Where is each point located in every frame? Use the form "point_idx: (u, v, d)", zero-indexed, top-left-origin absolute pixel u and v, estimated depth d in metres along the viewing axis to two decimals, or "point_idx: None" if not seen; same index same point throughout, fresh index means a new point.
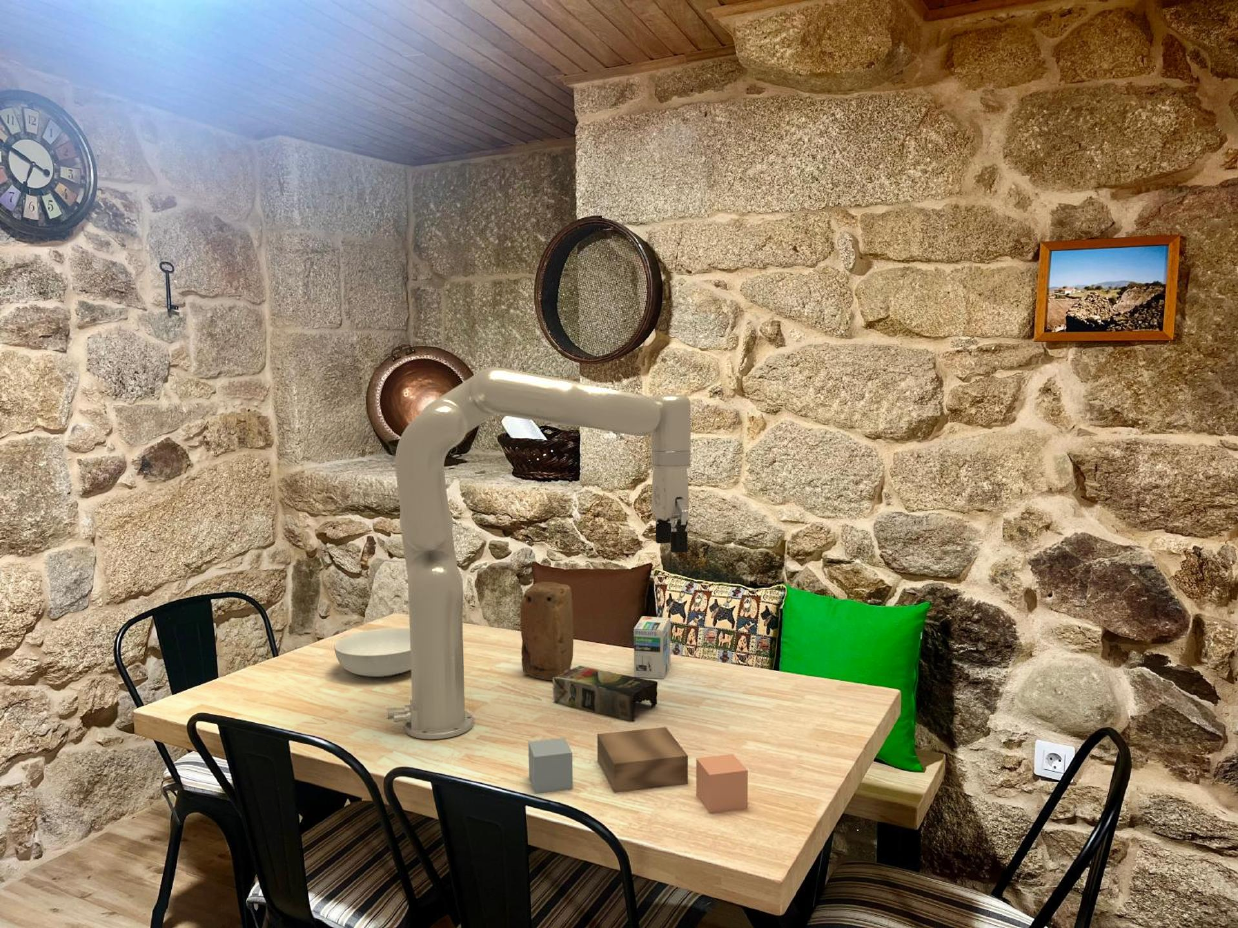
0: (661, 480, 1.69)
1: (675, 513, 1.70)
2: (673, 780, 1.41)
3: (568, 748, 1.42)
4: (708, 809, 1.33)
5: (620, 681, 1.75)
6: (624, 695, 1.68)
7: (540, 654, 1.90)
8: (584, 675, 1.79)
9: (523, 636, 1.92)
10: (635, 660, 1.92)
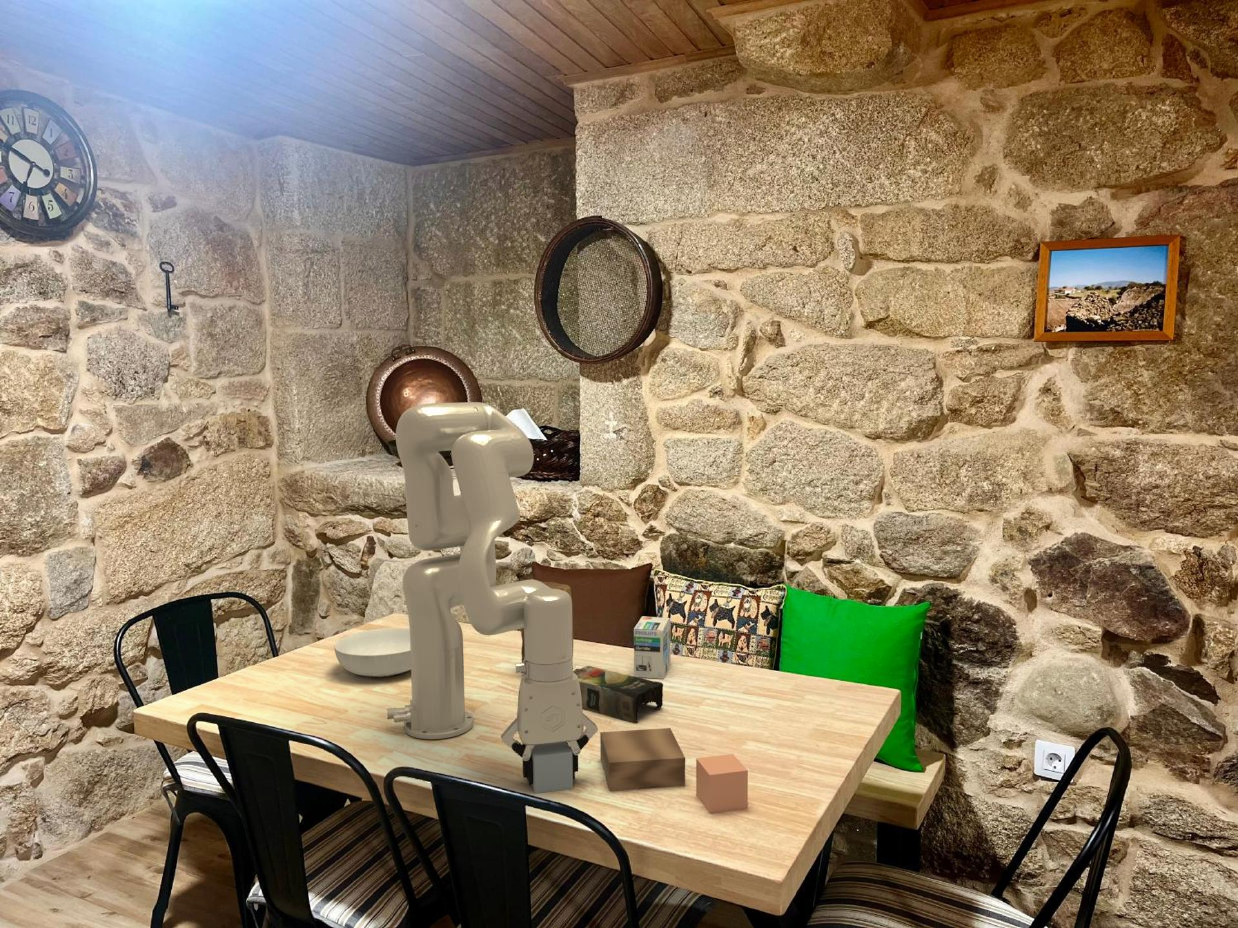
0: (568, 695, 1.39)
1: None
2: (670, 781, 1.41)
3: (568, 748, 1.42)
4: (708, 809, 1.33)
5: (626, 681, 1.74)
6: (627, 696, 1.67)
7: None
8: (591, 675, 1.79)
9: (523, 636, 1.92)
10: (635, 660, 1.92)
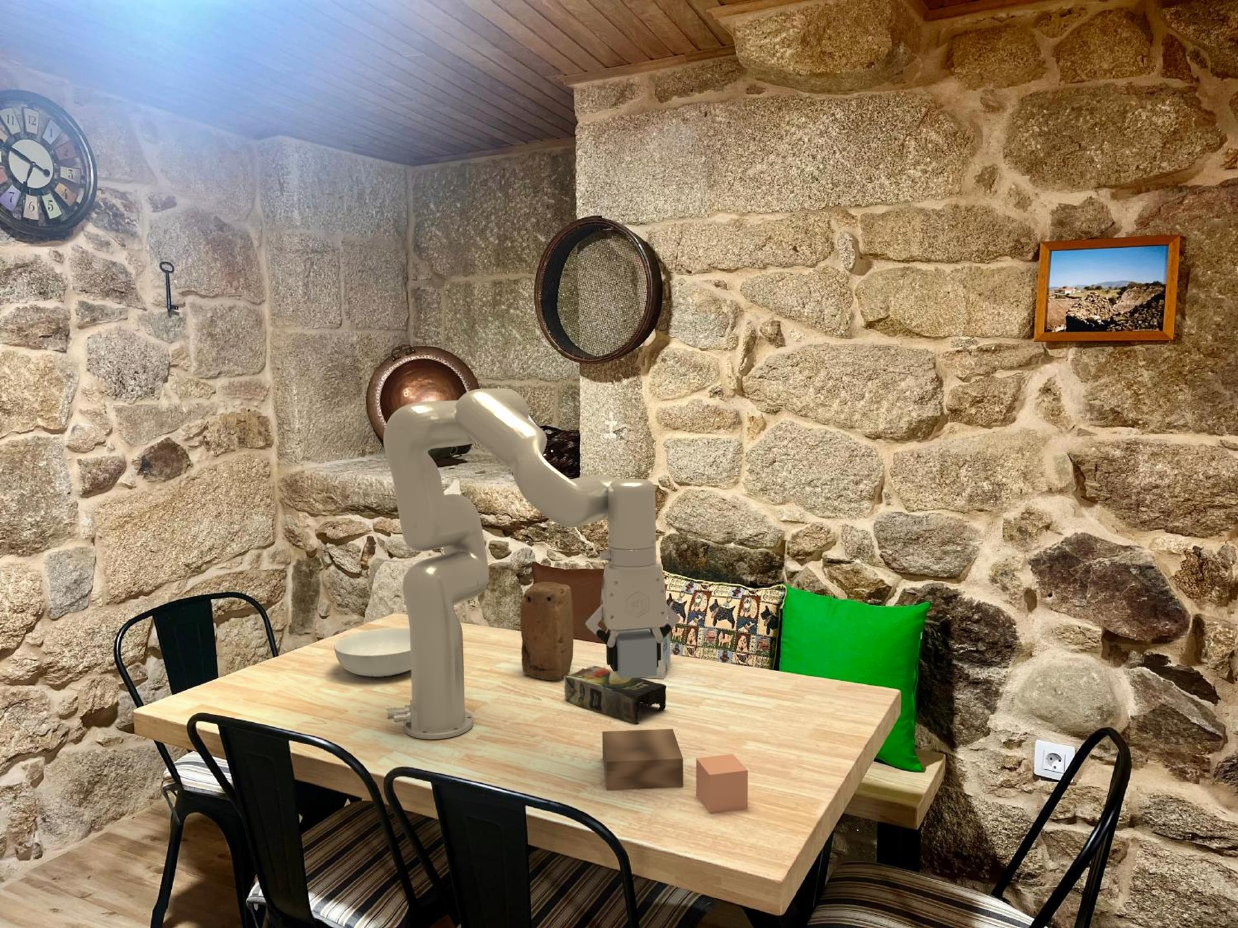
0: (652, 581, 1.41)
1: None
2: (668, 782, 1.41)
3: (652, 635, 1.43)
4: (708, 809, 1.33)
5: (629, 682, 1.74)
6: (628, 697, 1.67)
7: (540, 654, 1.90)
8: (596, 675, 1.79)
9: (523, 636, 1.92)
10: None
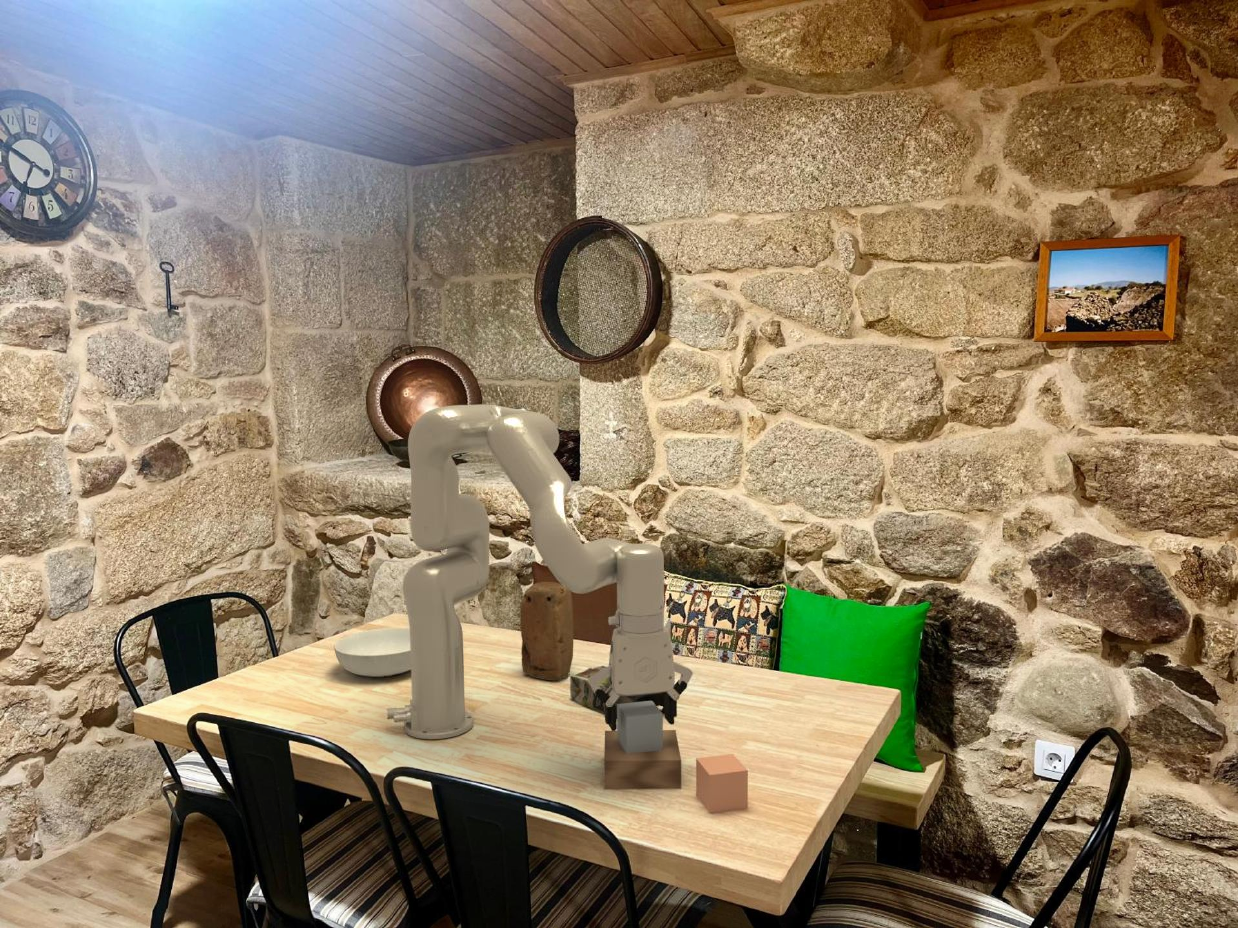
0: (660, 647, 1.42)
1: None
2: (666, 783, 1.40)
3: (658, 710, 1.45)
4: (708, 809, 1.33)
5: None
6: (628, 698, 1.66)
7: (540, 654, 1.90)
8: None
9: (523, 636, 1.92)
10: None
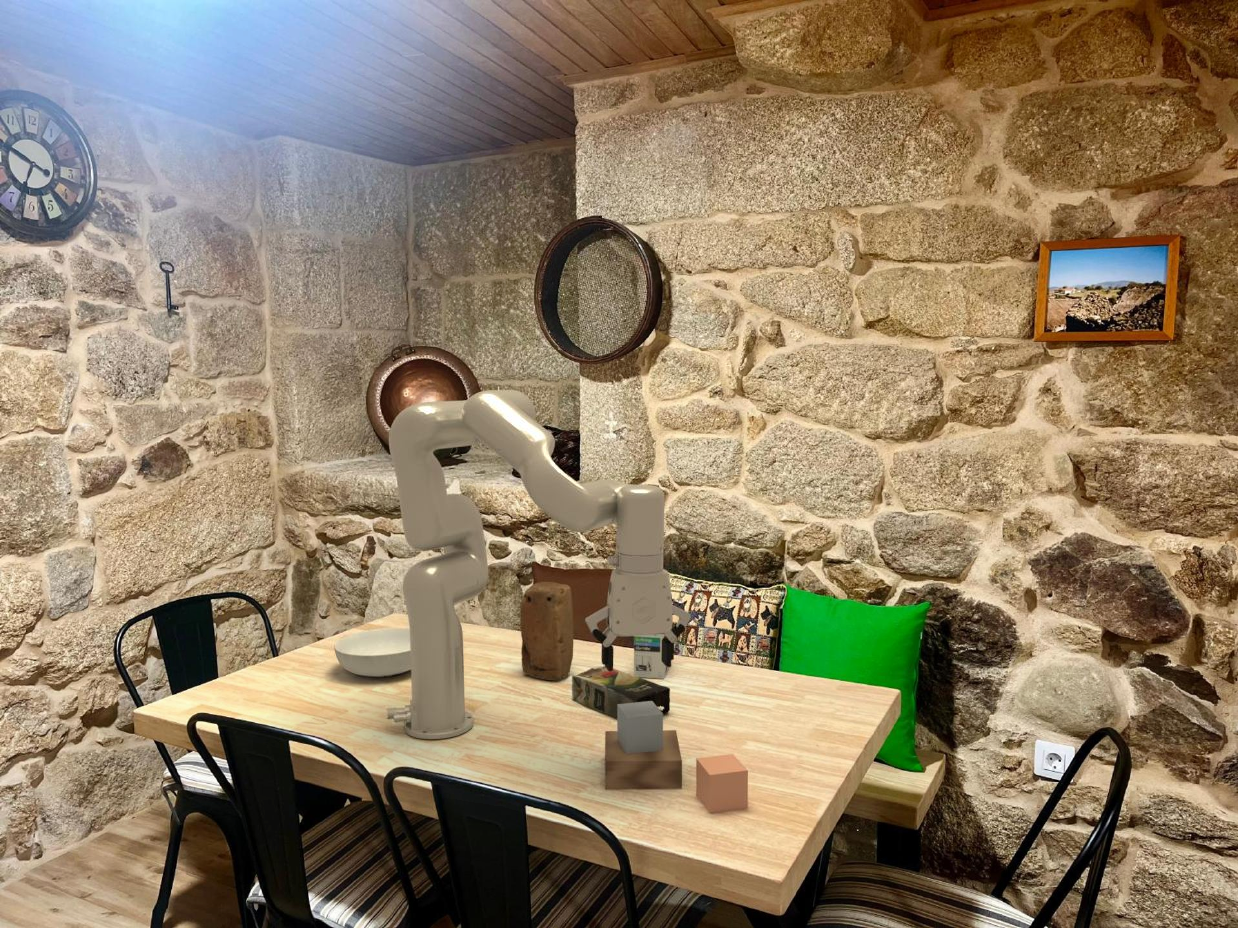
0: (659, 588, 1.42)
1: None
2: (667, 783, 1.40)
3: (658, 710, 1.45)
4: (708, 809, 1.33)
5: (634, 684, 1.73)
6: (628, 699, 1.66)
7: (540, 654, 1.90)
8: (603, 676, 1.79)
9: (523, 636, 1.92)
10: (635, 660, 1.92)
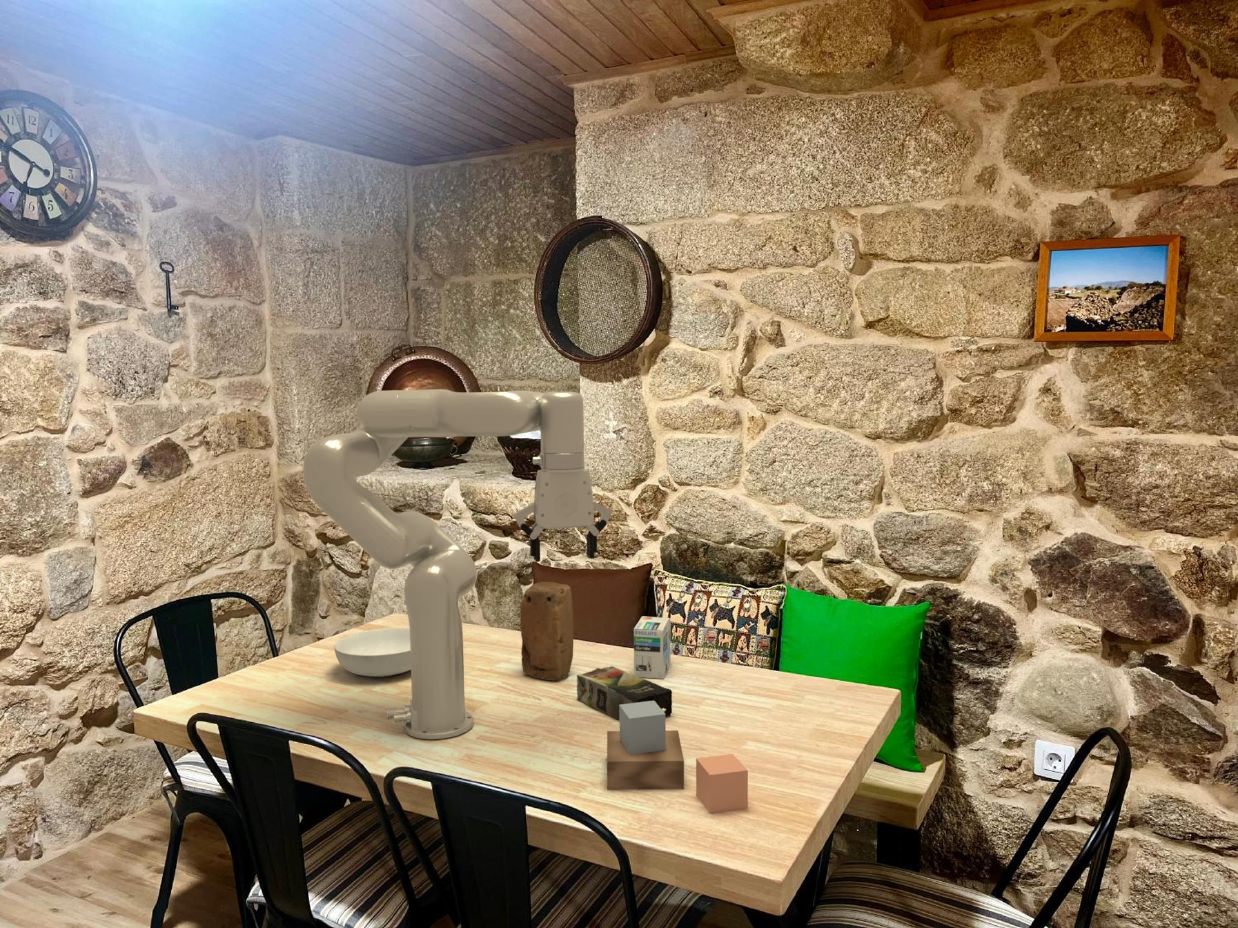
0: (580, 484, 1.55)
1: None
2: (669, 784, 1.40)
3: (660, 710, 1.45)
4: (708, 809, 1.33)
5: (636, 685, 1.72)
6: (628, 700, 1.66)
7: (540, 654, 1.90)
8: (608, 676, 1.79)
9: (523, 636, 1.92)
10: (635, 660, 1.92)
